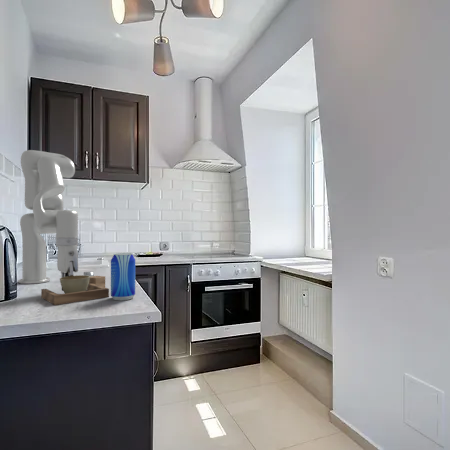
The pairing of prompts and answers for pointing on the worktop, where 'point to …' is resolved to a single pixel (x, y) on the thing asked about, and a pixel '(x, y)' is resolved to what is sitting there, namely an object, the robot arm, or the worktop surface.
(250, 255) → the worktop surface
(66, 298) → the bay
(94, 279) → the walnut block
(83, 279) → the flower pot
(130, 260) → the beer can
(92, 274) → the grey metal cylinder
